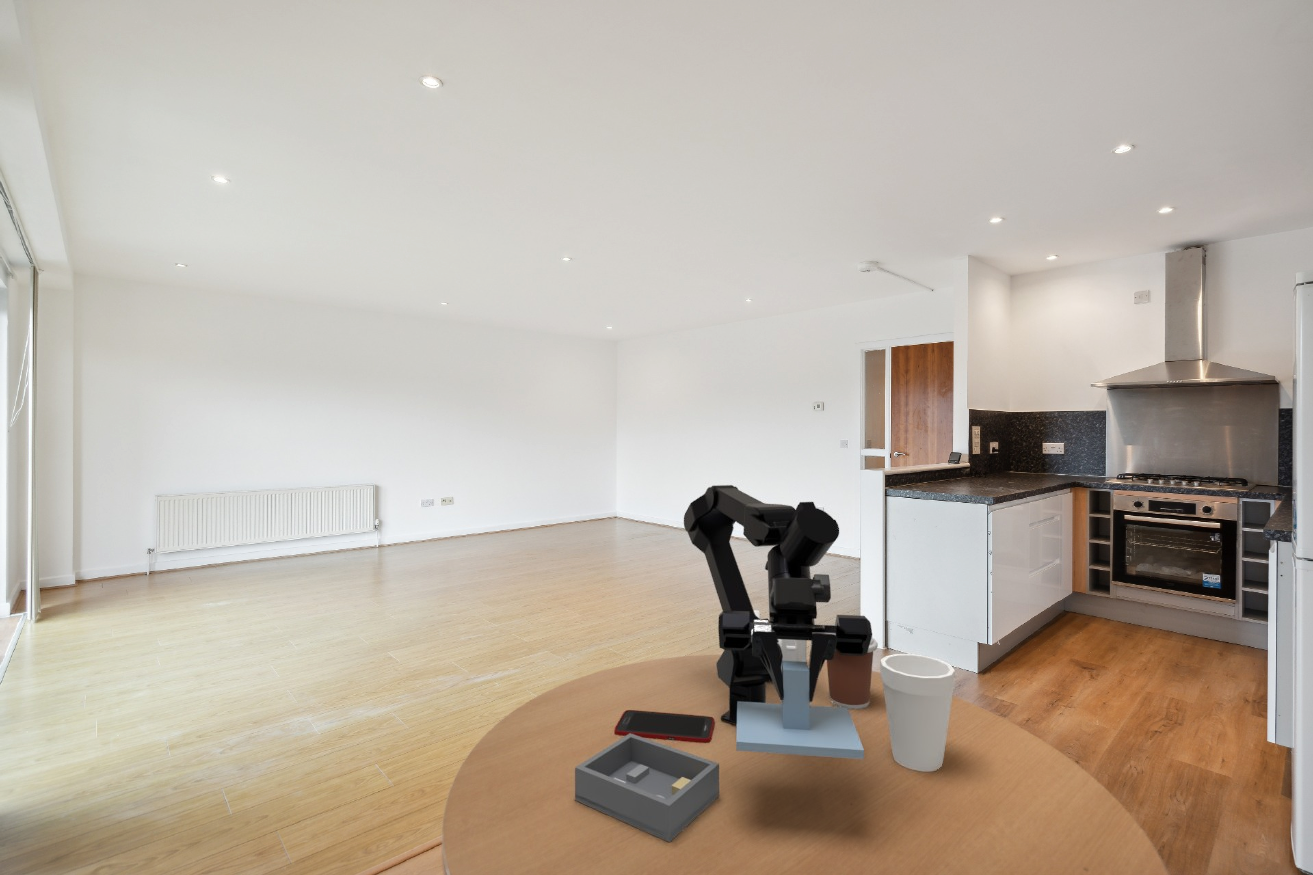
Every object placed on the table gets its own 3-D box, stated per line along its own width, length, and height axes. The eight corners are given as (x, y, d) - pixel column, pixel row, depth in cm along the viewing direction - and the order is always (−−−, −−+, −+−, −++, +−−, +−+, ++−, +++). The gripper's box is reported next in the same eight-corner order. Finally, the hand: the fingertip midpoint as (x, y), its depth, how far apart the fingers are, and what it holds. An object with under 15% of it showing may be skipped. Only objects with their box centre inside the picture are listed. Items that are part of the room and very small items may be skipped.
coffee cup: (876, 693, 109) (875, 624, 109) (879, 715, 100) (879, 640, 100) (822, 687, 111) (821, 620, 111) (821, 708, 103) (820, 635, 103)
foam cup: (954, 751, 88) (954, 659, 88) (955, 784, 80) (955, 682, 80) (883, 738, 92) (883, 650, 92) (877, 767, 84) (877, 671, 84)
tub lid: (737, 708, 82) (737, 647, 82) (847, 715, 80) (847, 652, 80) (736, 750, 71) (736, 679, 71) (864, 759, 69) (863, 686, 69)
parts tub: (629, 762, 85) (629, 733, 85) (719, 795, 77) (719, 763, 77) (575, 800, 76) (575, 767, 76) (669, 842, 68) (669, 805, 68)
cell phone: (624, 715, 101) (624, 709, 101) (715, 722, 98) (715, 716, 98) (612, 737, 94) (612, 730, 94) (710, 746, 91) (710, 739, 91)
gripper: (718, 548, 80) (714, 664, 69) (869, 551, 78) (889, 673, 67) (721, 594, 88) (717, 705, 77) (857, 598, 85) (874, 714, 75)
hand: (796, 699), depth 74 cm, fingers closed on tub lid, 3 cm apart
